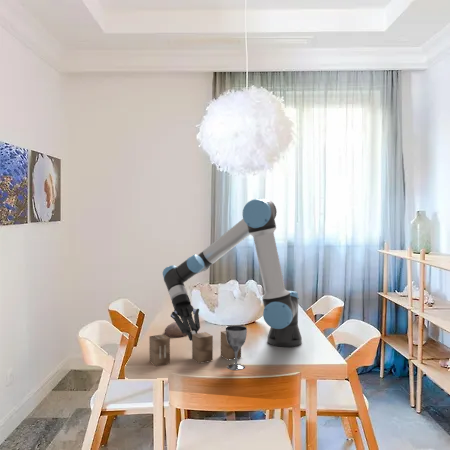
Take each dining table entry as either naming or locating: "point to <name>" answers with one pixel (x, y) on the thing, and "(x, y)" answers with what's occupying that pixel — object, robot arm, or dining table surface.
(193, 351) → the unmarked block
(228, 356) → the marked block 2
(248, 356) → the dining table surface
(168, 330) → the decorative stone
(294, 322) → the robot arm
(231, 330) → the wine glass
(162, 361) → the marked block 1
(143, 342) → the dining table surface
